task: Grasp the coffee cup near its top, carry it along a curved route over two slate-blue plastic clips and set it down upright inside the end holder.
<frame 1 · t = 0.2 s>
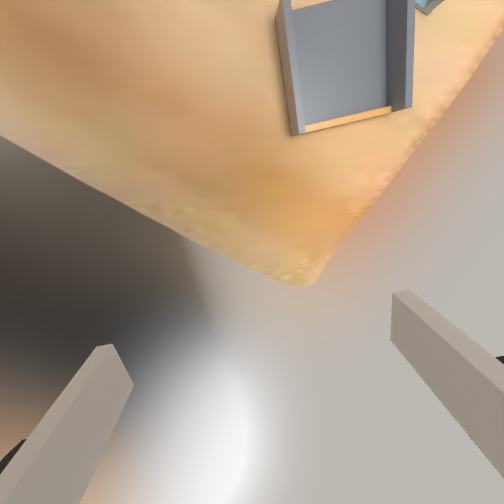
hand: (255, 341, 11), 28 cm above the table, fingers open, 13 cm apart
end holder: (335, 69, 31), on the table
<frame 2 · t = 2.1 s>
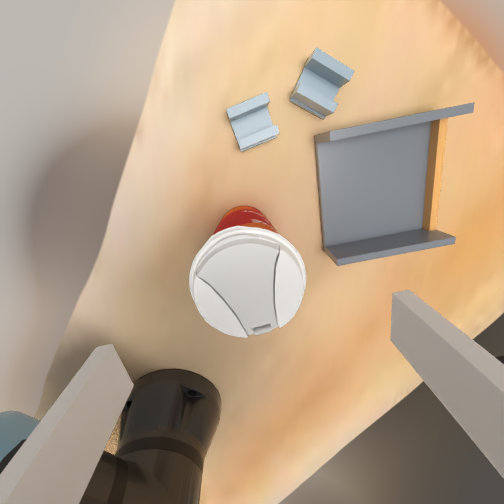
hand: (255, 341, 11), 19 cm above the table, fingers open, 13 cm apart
coffee cup: (244, 228, 30), on the table
end holder: (373, 187, 28), on the table
clip 1: (251, 125, 25), on the table
clip 2: (315, 90, 25), on the table
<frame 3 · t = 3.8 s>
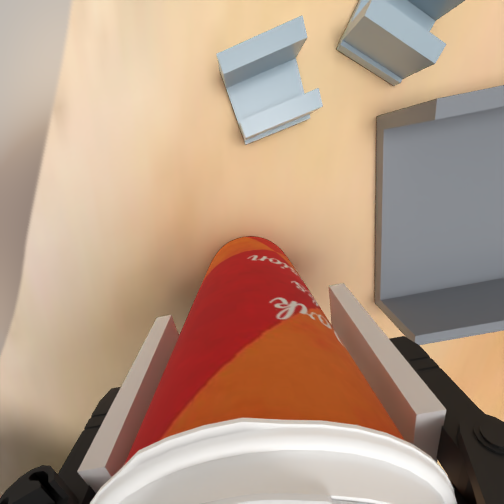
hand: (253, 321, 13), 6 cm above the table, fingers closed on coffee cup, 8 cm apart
coffee cup: (249, 271, 18), on the table, touching gripper
end holder: (467, 206, 17), on the table
clip 1: (265, 96, 14), on the table
clip 2: (386, 27, 13), on the table
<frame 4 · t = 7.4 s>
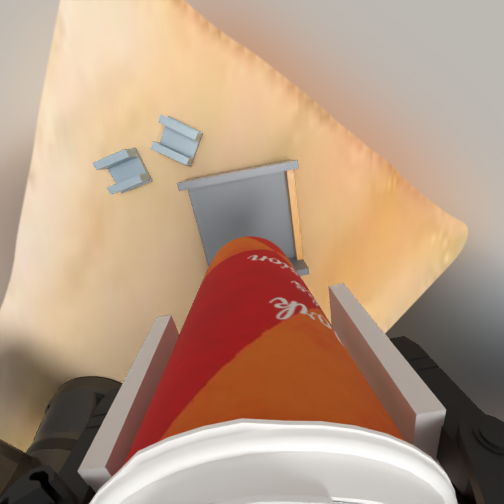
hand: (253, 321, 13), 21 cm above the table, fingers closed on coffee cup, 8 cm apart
coffee cup: (249, 271, 18), point 15 cm above the table, touching gripper
end holder: (247, 222, 32), on the table
clip 1: (129, 170, 29), on the table
clip 2: (180, 142, 28), on the table
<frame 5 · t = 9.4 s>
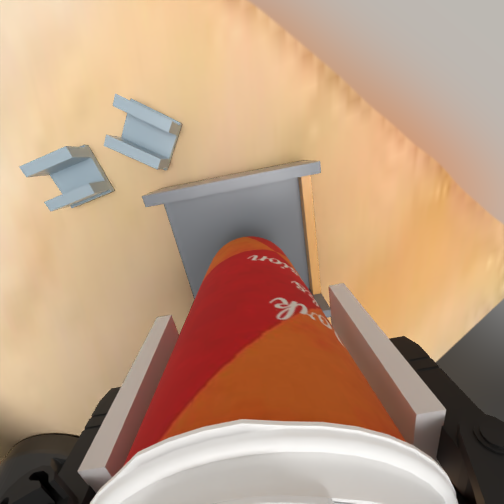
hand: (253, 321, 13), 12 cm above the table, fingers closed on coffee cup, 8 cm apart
coffee cup: (249, 271, 18), point 6 cm above the table, touching gripper
end holder: (246, 244, 24), on the table
clip 1: (81, 177, 21), on the table
clip 2: (151, 136, 20), on the table
when the fingers open (8 cm above the table, at t = 11.0 s): coffee cup drops 1 cm, resting on end holder.
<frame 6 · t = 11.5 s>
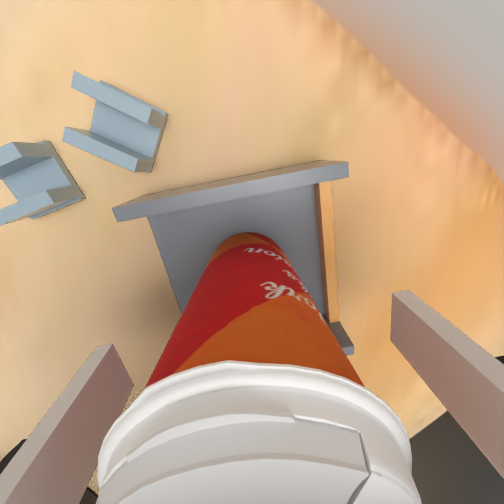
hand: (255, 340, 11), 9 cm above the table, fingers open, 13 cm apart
coffee cup: (248, 265, 19), point 1 cm above the table, touching end holder
end holder: (248, 261, 20), on the table
clip 1: (43, 181, 17), on the table
clip 2: (129, 130, 16), on the table
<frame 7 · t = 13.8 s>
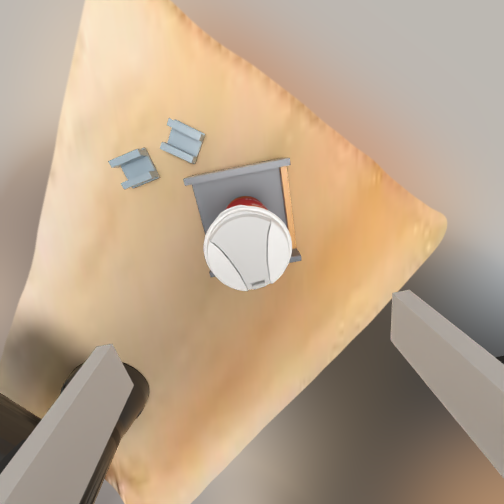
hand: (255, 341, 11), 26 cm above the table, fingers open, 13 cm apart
coffee cup: (245, 215, 35), point 1 cm above the table, touching end holder
end holder: (246, 214, 36), on the table
clip 1: (139, 168, 33), on the table
clip 2: (185, 142, 32), on the table
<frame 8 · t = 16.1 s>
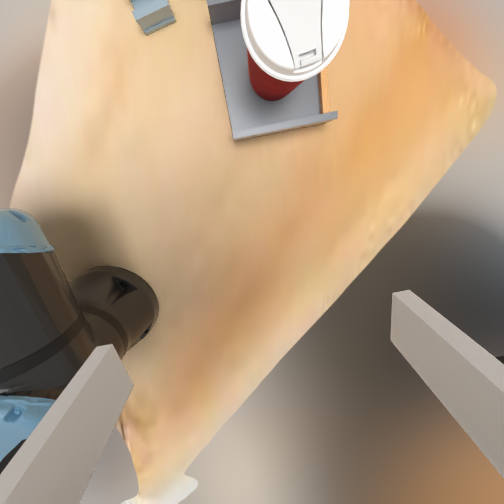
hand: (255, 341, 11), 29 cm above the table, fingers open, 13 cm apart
coffee cup: (272, 74, 31), point 1 cm above the table, touching end holder
end holder: (272, 75, 32), on the table
clip 1: (152, 8, 29), on the table
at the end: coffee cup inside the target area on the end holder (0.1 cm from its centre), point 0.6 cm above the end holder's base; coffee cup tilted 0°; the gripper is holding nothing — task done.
